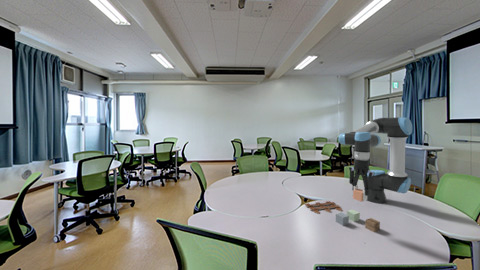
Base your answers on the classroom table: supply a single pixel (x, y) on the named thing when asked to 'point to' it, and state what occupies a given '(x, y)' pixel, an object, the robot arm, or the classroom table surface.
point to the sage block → (353, 215)
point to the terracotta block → (358, 194)
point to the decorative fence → (323, 207)
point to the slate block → (342, 219)
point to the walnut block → (372, 224)
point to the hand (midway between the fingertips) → (360, 198)
